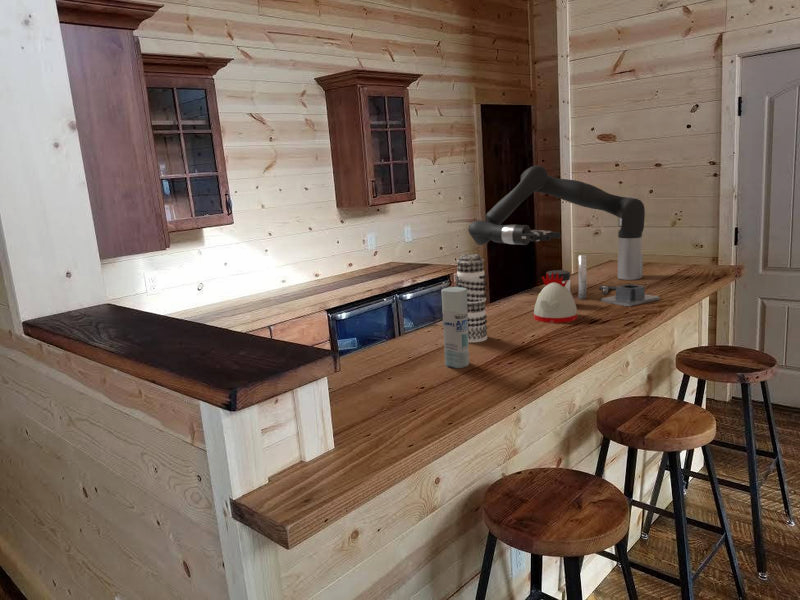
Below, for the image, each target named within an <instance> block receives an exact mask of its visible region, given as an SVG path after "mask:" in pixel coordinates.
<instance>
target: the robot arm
mask: <svg viewBox="0 0 800 600" xmlns="http://www.w3.org/2000/svg"><path fill="white" fill-rule="evenodd" d="M534 192H536V193H541V194H545V195H550V196H552V197H555V198H558V199H560V200H563V201H566V202H569V203H571V204H574V205H577V206H580V207H584V208H586V209H587V208H588V209H593V210H599V211H602V212H603V211H604V212H605V213H608V214H610V215H613V216H616V217H617V218H620V219H621V226H620V229H619V230H618V232H617V233H618V234H617V279H619V280H623V281H624V280H627V281H629V280H632V281H634V280H640V279H642V278H643V267H644V266H643V265H644V255H643V254H642V251H643V249H642V247H643V245H642V244H643V232H644V228H645V214H646V212H645V211H646V208H645V205H644V202H642V200H640V199H638V198H635V197H626V196H622V195H621V196H620V195H617V194H616V195H615V194H613V193H612V194H611V193H608V192H606V191H605V190H603V189H601V188H599V187H597V186H595V185H593V184H589V183H587V182H583V181H580V180H576V179H575V180H574V179H567V178H566V179H565V178H558V177H554V176H551V175H549V174H548V171H547V170H546V168H545V167H543V166H541V165H532V166H530V167H528V168H527V169H526V170H523V172H522V174H521V175H520V182H518V184H517V185H516V186H515V187H514V188H513V189H512V190H511V191H509V193H507V194H506V195H505V196H504V197H502V198H501V199H500V200H499V201H498V202H496V204H495V205H493V207H492V208H491V209H490V210H489V211H487V213H486V214H485V220H475V221H472V222H471V223H470V224H469V226H468V228H467V230H468V233H469V236H471V238H472V239H473V241H474V242H475V243H476V245H479V246H483V245H486V244H488V243H489V242H490V241H491V242H494V243H497V244H508V245H521V246H523V245H524V246H526V245H528V244H529V243H530V242H535V243H536V242H541V241H542V242H543V241H544V242H549V241H551V239H561V235H562V234H561V232H557V231H552V230H543V229H540V230H539V229H538V230H537V229H531V228H530V226H529V225H528V224H503V222H504V221H505V220H506V219H508V217H510V215H511V214H512V213H513V212H514V211H515V210H516V209H517V208H518V207H519V206H520V205H521V204H522V203H523V202H524V201H525V200H526V199H527V198H529V197H530V196H531V195H532V194H533V193H534Z"/></svg>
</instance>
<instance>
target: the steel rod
mask: <svg viewBox="0 0 800 600" xmlns="http://www.w3.org/2000/svg"><path fill="white" fill-rule="evenodd" d="M577 257H578V259H577V263H578V267H577V268H578V269H577V270H578V272H577V273H578V274H577V275H578V279H577V280H578V285H577V287H578V292H577V294H578V296H577V297H578V298H577V299H579V300H586V299H587V255H586V254H579V255H578V256H577Z"/></svg>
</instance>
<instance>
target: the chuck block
mask: <svg viewBox="0 0 800 600" xmlns="http://www.w3.org/2000/svg"><path fill="white" fill-rule="evenodd" d="M600 300H601V302H602V303H608V304H612V305H618V306H624V307H627V306H628V307H633V305H634V306H638V305H641V304H646V303H651V302H655V301H660V296H657V295H651V294H646V286H645V285H640V284H634V283H628V284H620V285H616V290H615V295H612V296H608V297H602V298H601V299H600Z"/></svg>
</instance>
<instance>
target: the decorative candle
mask: <svg viewBox="0 0 800 600" xmlns="http://www.w3.org/2000/svg"><path fill="white" fill-rule="evenodd" d="M484 261H485V259H483V258H482V256H481V255H480V254H475V253H471V254H463V255H461V256H460V257H459V258H458V259H457V260H456V263H457V271H456V273H457V274H456V276H455V278H454V279H455V281H456V282H455V287H464V288H466V289H467V310H468V343H481V342H486V340H487V339H488V331H487V330H488V326H487V325H486V324H487V323H488V321H487V320H486V319H487V317H488V316H487V315H486V304H485V302H487V301H486V300H487V297H488V296H487V294H486V293H485V291H487V290H488V288H487V287H486V285H487V284H488V283H487V281H485V280H486V279H487V278H488V276H487V275H486V274H485V267H484V266H485V265H484Z"/></svg>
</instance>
